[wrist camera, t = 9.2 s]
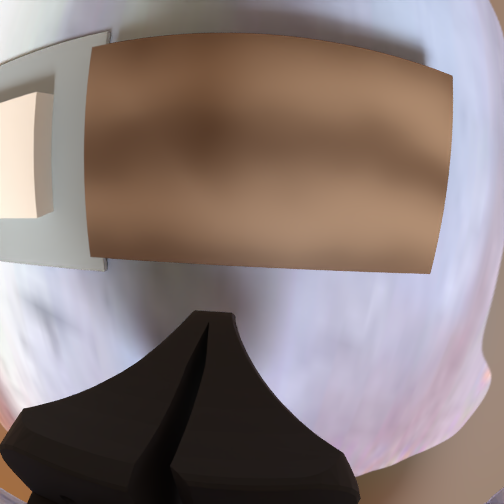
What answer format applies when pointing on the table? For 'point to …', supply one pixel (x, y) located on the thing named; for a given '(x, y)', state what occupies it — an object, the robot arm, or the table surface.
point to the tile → (26, 156)
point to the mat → (55, 157)
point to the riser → (265, 153)
